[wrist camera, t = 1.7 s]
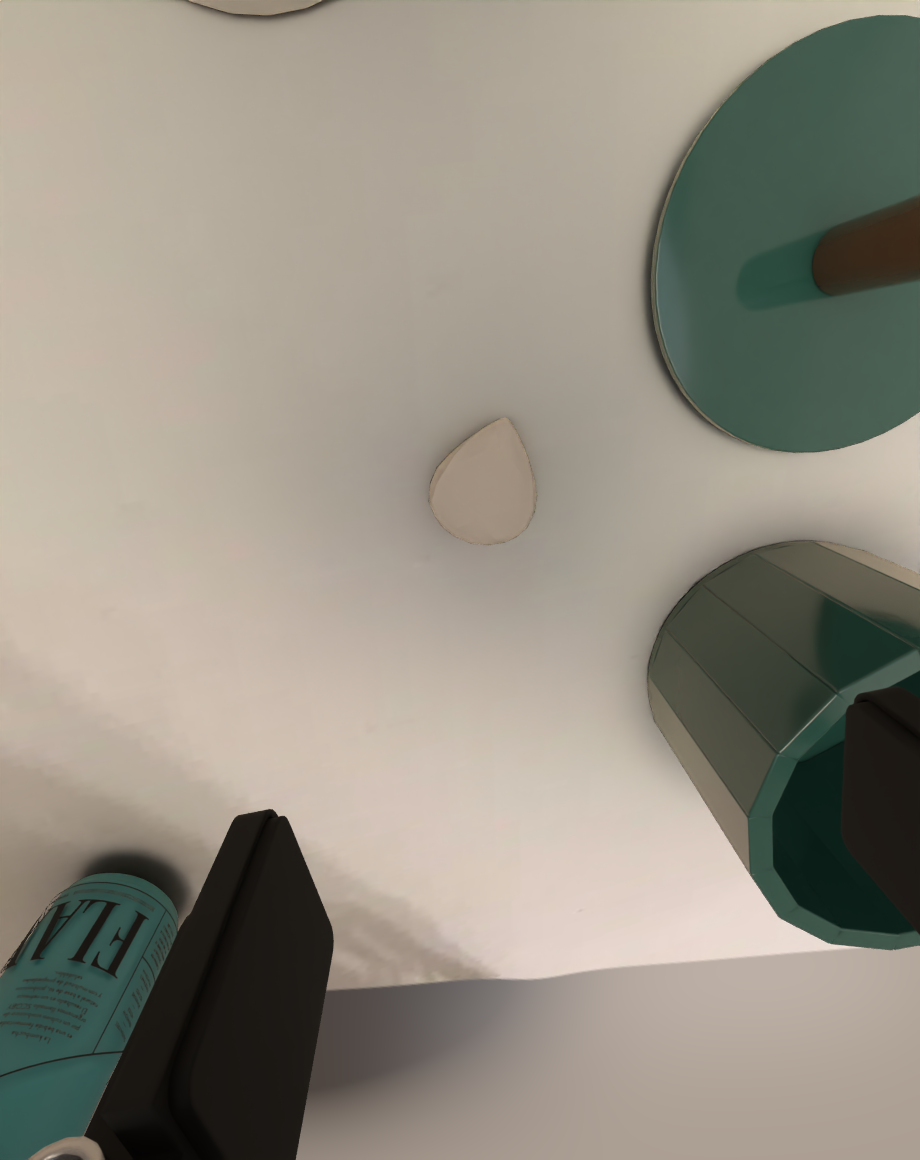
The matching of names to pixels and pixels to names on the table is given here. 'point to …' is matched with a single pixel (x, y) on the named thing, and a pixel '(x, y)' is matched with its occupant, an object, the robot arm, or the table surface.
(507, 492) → the beige teardrop wedge
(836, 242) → the lid
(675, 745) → the canister
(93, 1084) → the beverage bottle
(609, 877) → the table surface
